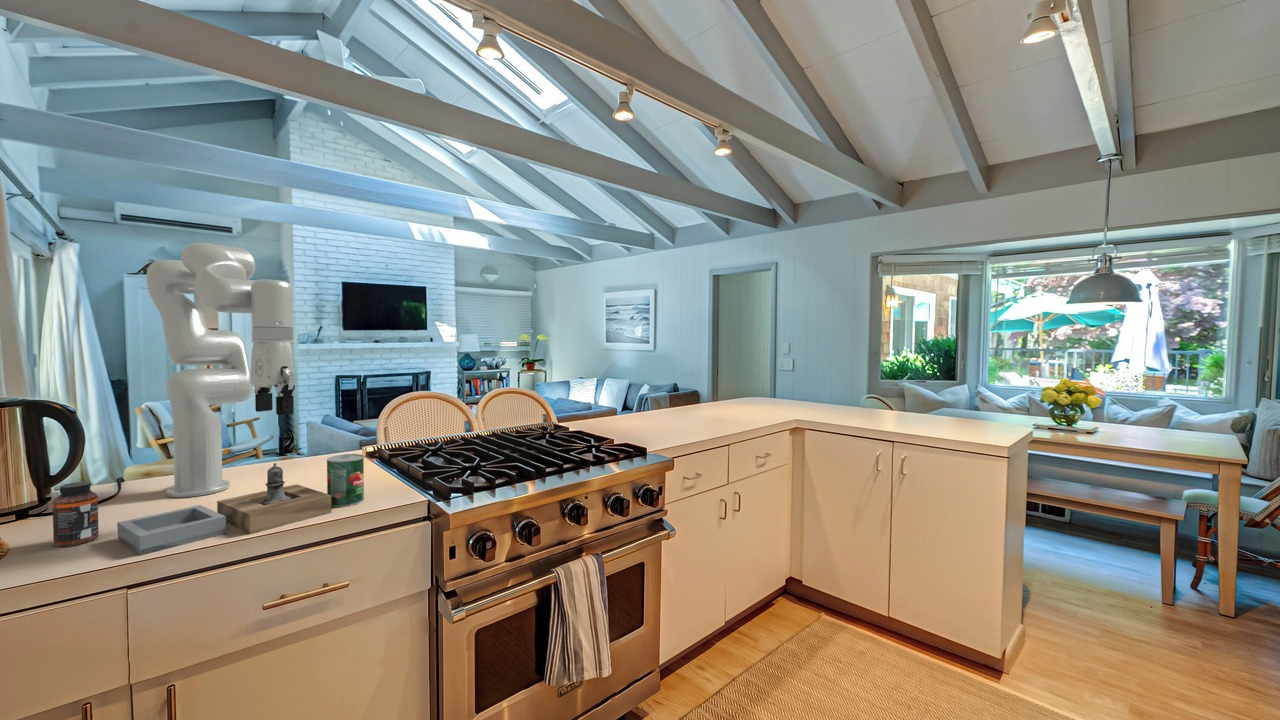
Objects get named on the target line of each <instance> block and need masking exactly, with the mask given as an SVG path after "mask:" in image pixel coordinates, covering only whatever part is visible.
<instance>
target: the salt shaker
mask: <svg viewBox="0 0 1280 720" xmlns="http://www.w3.org/2000/svg"><path fill="white" fill-rule="evenodd" d="M277 465H278V464H277V463H276V462H275V463H273V466H272V467H270V468H268V470H267V471H266V472H267V477H266V478H267V482H266V483H265V486H266V487H267V488H266V489H267V490H266V491H267V496H266V498H265V499H263V500H261V501H260V502H259V503H260V504H262V505H268V504H273V503H277V502H281V501H286V500H290V499H291V497H289V496H285V494H284V491H283V487H284V484H286V482H285V481H284V475H283V474H284V472H283V471H284V470H283V468H282V467H280V466H277Z"/></svg>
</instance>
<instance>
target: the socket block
mask: <svg viewBox="0 0 1280 720" xmlns="http://www.w3.org/2000/svg"><path fill="white" fill-rule="evenodd" d="M283 491H284V494H285V496H289V497H291V499H290V500H286V501H281V502H277V503H273V504H268V505H262V504H260V503H259V502H260V501H261V500H263V499H265V498H266V496H267V490H262V491H259V492H258V491H257V492H254V493H249V494H243V495H240V496H239V495H238V496H235V497H229V498H225V499H220V500H217V501H216V504H217V506H216V507H217V508H216V509H217V510H216V512H217V513H219V514H222V515H224V516H226V525H230V526H232V527H234V528H236V529H238V530H240V531H243V532H245V533H247V534H250V535H251V534H252V535H253V534H256V533H259V532H263V531H267V530H270V529H274V528H279V527H282V526H286V525H289V524H293V523H297V522H300V521H304V520H308V519H311V518H315V517H316V518H317V517H319V515H320V516H323V514H324V515H326V514H330V513H332V507H331V495H329V494H327V493H326V492H323V491H319V490H317V489H313V488H309V487H306V486H305V485H304V486H303V485H300V484H291V485H287V486H283Z"/></svg>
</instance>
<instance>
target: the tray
mask: <svg viewBox="0 0 1280 720" xmlns="http://www.w3.org/2000/svg"><path fill="white" fill-rule="evenodd" d="M116 523H117V524H116V526H117V541H118V540H119V542H120V543H121V542H122V543H121V544H123V545H124V544H125V545H124V546H125V547H128V548H129V549H130V550H132V551H133V552H135V553H136V554H137V555H139V556H142V555H147V554H151V553H154V552H158V551H163V550H166V549H170V548H174V547H177V546H183V545H187V544H190V543H193V542H197V541H201V540H206V539H209V538H213V537H216V536H221V535H225V534H227V523H226V516H224V515H222V514H219V513H217V511H215V510H213V509H210V508H207V507H206V506H203V505H201V504H199V505H194V506H190V507H189V506H188V507H184V508H179V509H176V510H171V511H170V510H169V511H166V512H161V513H156V514H152V515H147V516H141V517H136V518H133V519H132V518H131V519H127V520H123V521H118V522H116Z"/></svg>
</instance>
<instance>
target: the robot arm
mask: <svg viewBox="0 0 1280 720" xmlns="http://www.w3.org/2000/svg"><path fill="white" fill-rule="evenodd" d="M180 254H181V255H180V257H181V258H180V259H181V260H179V259H164V260H157V261H154V262H152V263H151V264H150V265H149V266H148V268H147V270H146V287H147V291H148V293H149V296H150V298H151V300H152V302H153V304H154V306H155V307H156V309H157V310H158V312H159V316H160V318H161V322H162V327H163V331H164V332H163V334H164V339H165V344H166V347H167V352H168V355H169V358H170V360H171V361H172V363H174V364H175V365H178V366H186V367H187V366H188V367H189V366H190V367H192V366H193V367H194V366H195V367H197V366H198V367H199V366H200V367H201V366H203V367H204V366H220V367H219V368H213V367H212V368H211V367H210V368H189V369H184V370H179V371H177V372H174V373H172V374H171V375H170V376H169V378H168V379H167V382H166V391H167V395H168V399H169V403H170V407H171V408H170V409H171V414H172V415H171V416H172V436H173V437H172V438H173V439H172V440H173V445H172V446H173V482H174V483H173V485H174V486H171V487H169V488H167V489H166V490H165V491H166V493H165V494H166V496H168V497H169V498H170V497H171V498H191V497H199V496H204V495H210V494H215V493H219V492H222V491H225V490H227V489H228V488H230V487H231V482H230V481H229V480H227V479H226V480H225V479H223V446H222V445H223V443H222V442H223V441H222V440H223V437H222V435H223V433H222V431H223V430H222V421H221V418H220V417H219V416H218V415H217V414H216V413H215V412H214V411H213V410H212V409H211V408H210V406H214V405H223V404H236V403H243V402H246V401H247V400H249V399H250V398H251V397H252V394H253V391H254V393H255V395H254V397H255V398H254V399H255V400H254V401H255V402H254V403H255V404H254V406H255V412H258V413H260V412H269V411H273V409H274V407H273V392H271V391H272V388H273V386H274V388H275V389H274V390H275V392H276V394H277V396H275V414H276V415H277V416H285V415H292V414H294V396H295V388H296V385H295V384H296V381H297V377H296V376H295V369H294V355H293V347H292V343H294V311H293V310H294V305H293V304H294V303H293V286H292V284H291V283H290V282H288V281H285V280H279V279H269V278H268V279H267V278H265V279H263V278H262V279H256V280H251V278H252V277H253V276H254V274H255V272H256V262H255V258H254V256H253V255H252V253H251V252H250V251H248V250H247V249H245V248H242V247H238V246H232V245H224V244H219V243H217V244H216V243H210V242H194V243H190V244H189V245H187V246H186V247H185V248H183V249H182V251H181V253H180ZM185 294H186V295H196V296H197V298H198V299H199V300H200V302H202V304H204V305H205V306H207V307H208V308H209V309H211V310H213V311H215V312H219V313H226V314H227V313H228V314H229V313H231V314H249V315H250V314H251V343H252V348H251V349H252V350H251V359H250V362H249V356H248V351H247V348H246V344H245V342H244V340H243V338H242V336H241V335H240V334H238V333H237V332H235V331H233V330H224V329H210V328H208V327H207V323H206V319H205V314H204V311H202V309H201V308H200V307H199V306H198V305H197V304H196V303H195V302H194V301H192V300H191V299H190V298H189V297H187V296H186V295H185ZM221 367H222V368H221Z"/></svg>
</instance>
